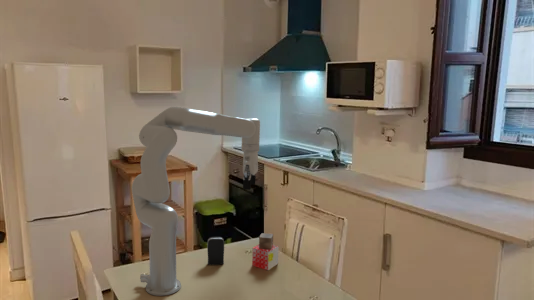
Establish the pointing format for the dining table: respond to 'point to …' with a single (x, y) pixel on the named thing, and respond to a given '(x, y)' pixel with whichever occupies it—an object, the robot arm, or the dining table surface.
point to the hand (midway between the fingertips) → (249, 186)
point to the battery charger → (215, 250)
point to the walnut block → (265, 241)
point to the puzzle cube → (265, 257)
